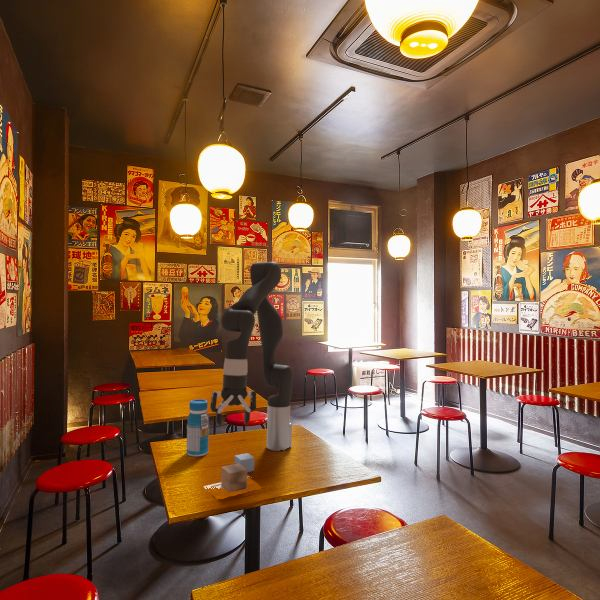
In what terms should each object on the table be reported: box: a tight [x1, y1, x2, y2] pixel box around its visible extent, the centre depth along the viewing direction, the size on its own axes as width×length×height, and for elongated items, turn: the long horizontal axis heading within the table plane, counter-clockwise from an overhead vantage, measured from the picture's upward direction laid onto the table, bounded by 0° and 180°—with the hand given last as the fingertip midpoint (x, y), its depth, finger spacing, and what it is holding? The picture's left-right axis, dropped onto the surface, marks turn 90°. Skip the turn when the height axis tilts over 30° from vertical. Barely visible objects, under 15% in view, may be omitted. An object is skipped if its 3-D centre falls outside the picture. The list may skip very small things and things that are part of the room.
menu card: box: [203, 475, 251, 490], centre depth 134 cm, size 16×11×1 cm
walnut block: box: [220, 463, 248, 493], centre depth 134 cm, size 6×6×6 cm
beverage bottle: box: [186, 398, 210, 457], centre depth 163 cm, size 8×8×20 cm
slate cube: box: [234, 452, 255, 473], centre depth 148 cm, size 5×5×5 cm
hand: (232, 424), depth 135 cm, fingers open, 8 cm apart
